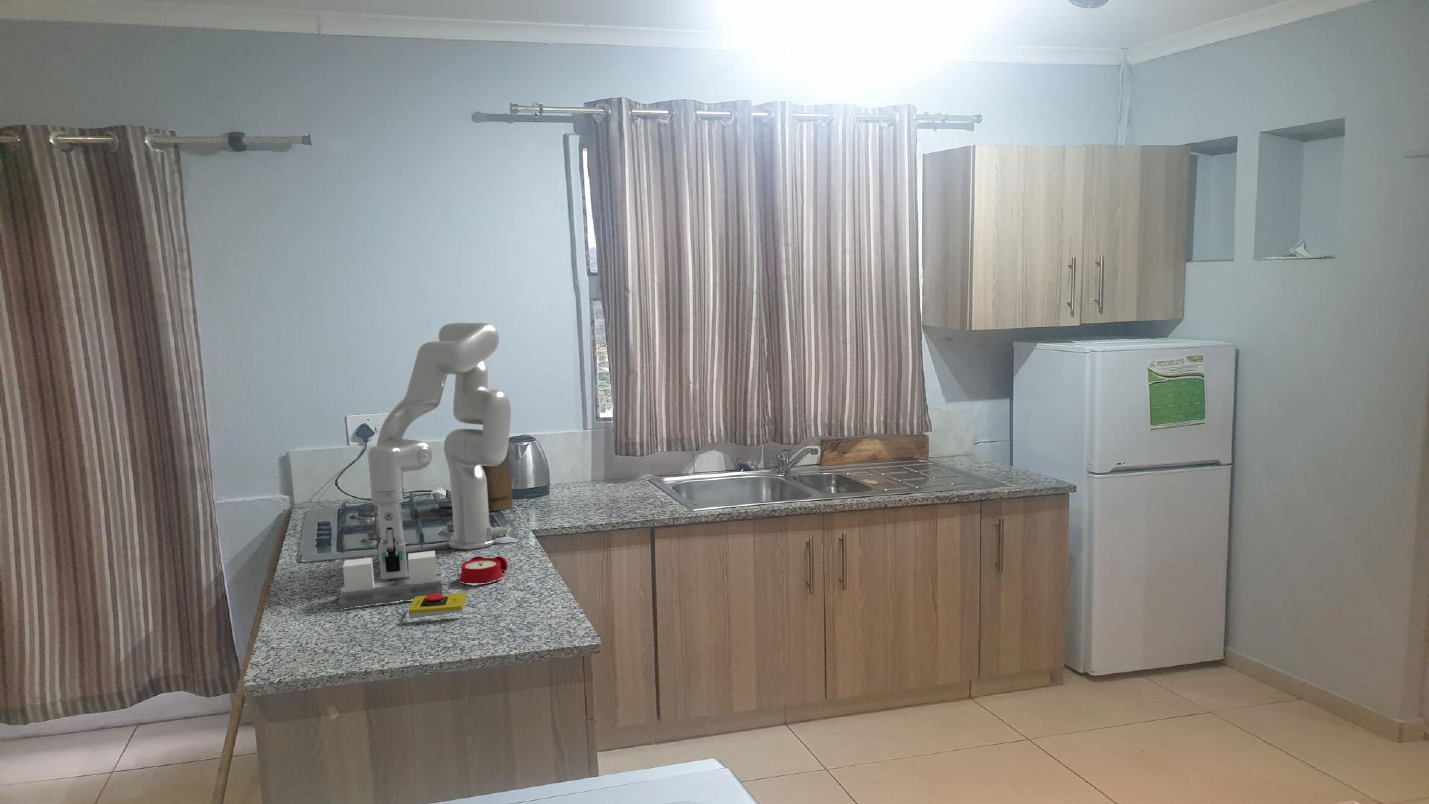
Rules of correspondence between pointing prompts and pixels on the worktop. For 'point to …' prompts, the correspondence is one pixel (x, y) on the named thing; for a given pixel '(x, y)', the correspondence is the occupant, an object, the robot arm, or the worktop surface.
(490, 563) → the alarm clock
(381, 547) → the block
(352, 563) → the mounted modules
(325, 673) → the worktop surface
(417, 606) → the emergency button
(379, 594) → the board
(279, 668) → the worktop surface
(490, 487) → the wooden container
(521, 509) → the worktop surface
